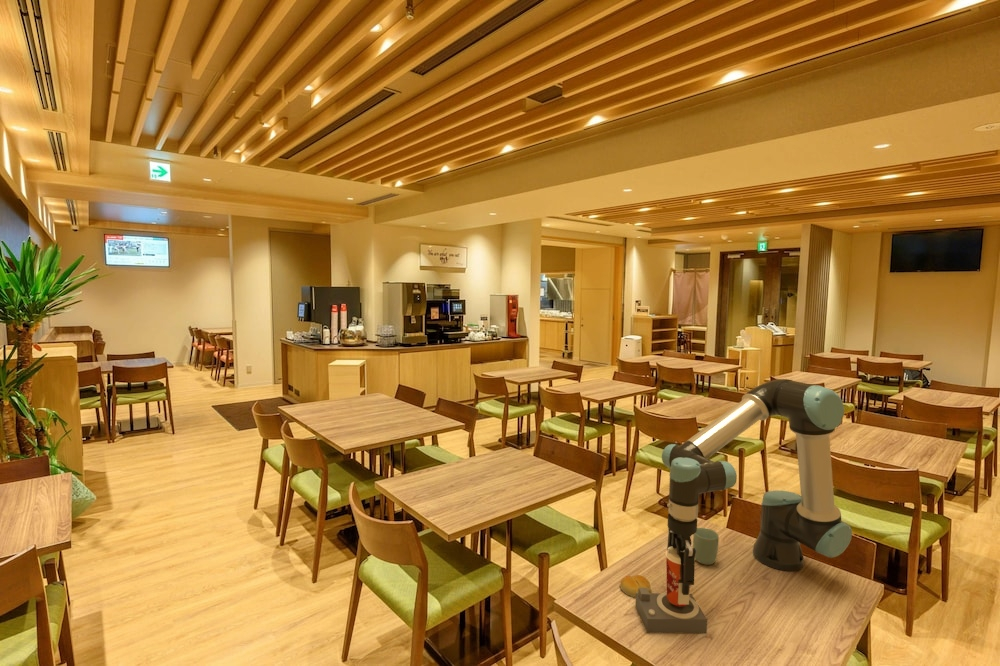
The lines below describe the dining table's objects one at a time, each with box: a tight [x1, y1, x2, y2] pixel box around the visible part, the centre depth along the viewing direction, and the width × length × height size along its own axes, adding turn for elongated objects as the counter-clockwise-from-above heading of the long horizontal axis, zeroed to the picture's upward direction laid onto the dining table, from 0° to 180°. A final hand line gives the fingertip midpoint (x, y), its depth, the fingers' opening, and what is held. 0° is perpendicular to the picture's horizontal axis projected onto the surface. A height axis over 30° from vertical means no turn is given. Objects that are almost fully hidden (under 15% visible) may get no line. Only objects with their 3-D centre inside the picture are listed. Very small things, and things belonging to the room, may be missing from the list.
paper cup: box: [664, 546, 692, 606], centre depth 137 cm, size 8×8×14 cm
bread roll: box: [620, 574, 653, 598], centre depth 151 cm, size 8×9×4 cm
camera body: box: [634, 588, 708, 634], centre depth 138 cm, size 16×11×6 cm
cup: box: [692, 527, 720, 566], centre depth 167 cm, size 8×8×10 cm
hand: (678, 594), depth 138 cm, fingers closed on paper cup, 7 cm apart
